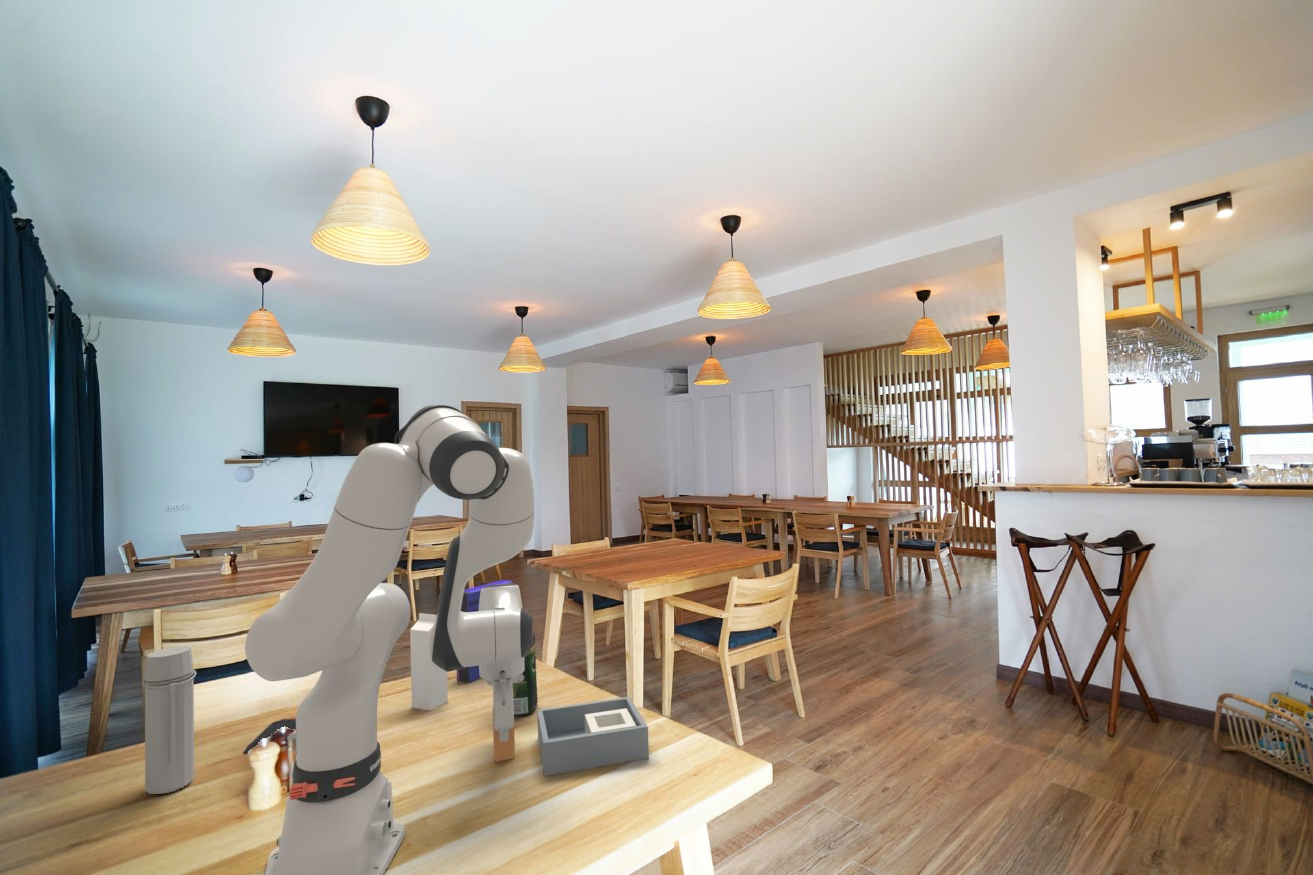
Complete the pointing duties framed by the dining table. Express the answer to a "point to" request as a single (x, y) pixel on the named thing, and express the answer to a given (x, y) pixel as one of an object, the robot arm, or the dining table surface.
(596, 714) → the socket
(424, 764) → the dining table surface
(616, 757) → the bin
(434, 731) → the dining table surface
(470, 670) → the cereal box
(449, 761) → the dining table surface
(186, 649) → the water bottle
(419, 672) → the milk
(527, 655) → the coffee jar
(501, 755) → the plug
